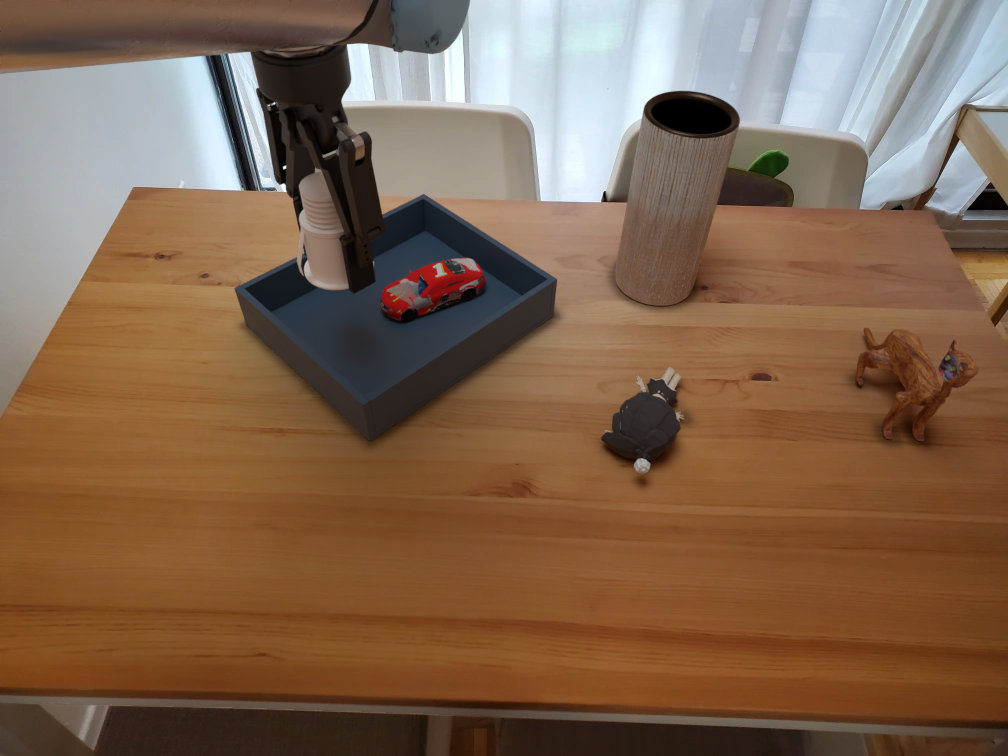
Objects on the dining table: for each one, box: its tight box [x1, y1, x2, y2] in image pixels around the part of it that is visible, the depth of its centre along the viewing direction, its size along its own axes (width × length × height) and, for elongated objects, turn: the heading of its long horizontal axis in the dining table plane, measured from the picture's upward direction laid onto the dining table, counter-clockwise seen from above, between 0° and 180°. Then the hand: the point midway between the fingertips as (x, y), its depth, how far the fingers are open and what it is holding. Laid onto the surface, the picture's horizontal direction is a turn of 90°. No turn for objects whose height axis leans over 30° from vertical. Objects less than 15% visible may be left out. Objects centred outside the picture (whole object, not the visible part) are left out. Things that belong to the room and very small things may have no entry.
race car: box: [380, 258, 486, 322], centre depth 86 cm, size 13×5×4 cm, turn 118°
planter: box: [614, 90, 741, 306], centre depth 83 cm, size 10×10×23 cm
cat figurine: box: [855, 327, 980, 442], centre depth 75 cm, size 18×7×14 cm, turn 177°
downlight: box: [296, 171, 374, 290], centre depth 70 cm, size 8×7×10 cm
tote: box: [234, 193, 558, 443], centre depth 83 cm, size 28×24×6 cm
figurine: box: [600, 366, 685, 475], centre depth 73 cm, size 7×6×15 cm
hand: (339, 267), depth 73 cm, fingers closed on downlight, 7 cm apart
